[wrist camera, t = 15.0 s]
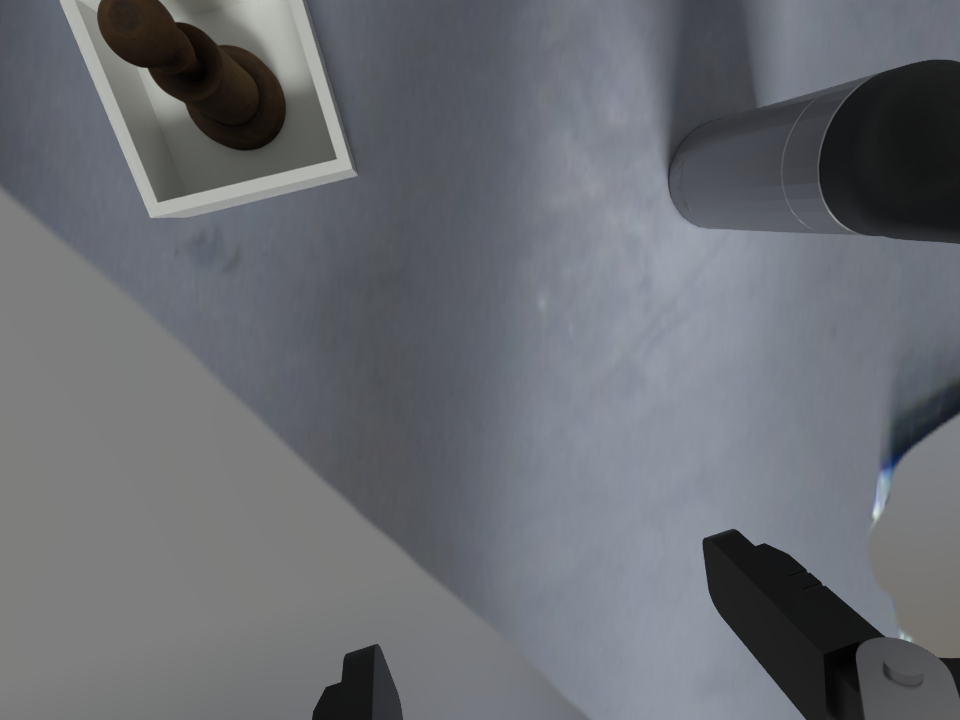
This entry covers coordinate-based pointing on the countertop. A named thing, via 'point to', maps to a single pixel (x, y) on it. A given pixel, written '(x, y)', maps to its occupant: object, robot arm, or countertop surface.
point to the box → (184, 147)
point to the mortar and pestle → (198, 72)
